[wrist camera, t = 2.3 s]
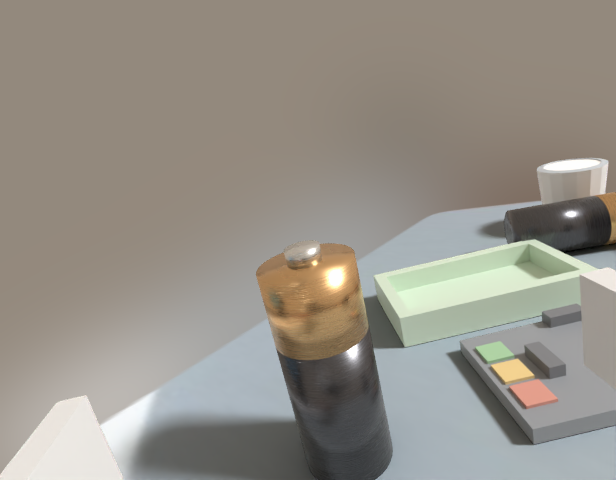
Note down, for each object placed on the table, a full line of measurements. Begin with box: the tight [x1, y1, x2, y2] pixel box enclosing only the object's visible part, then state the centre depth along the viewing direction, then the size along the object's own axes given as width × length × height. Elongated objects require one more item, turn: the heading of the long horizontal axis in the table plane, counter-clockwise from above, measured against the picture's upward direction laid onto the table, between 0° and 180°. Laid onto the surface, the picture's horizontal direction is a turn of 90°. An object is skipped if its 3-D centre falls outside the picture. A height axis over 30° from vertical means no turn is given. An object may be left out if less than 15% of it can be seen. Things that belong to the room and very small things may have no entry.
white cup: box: [537, 158, 608, 205], centre depth 48 cm, size 7×7×7 cm
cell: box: [256, 240, 393, 480], centre depth 23 cm, size 5×5×13 cm
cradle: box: [460, 303, 616, 444], centre depth 26 cm, size 12×9×2 cm
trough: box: [374, 239, 599, 347], centre depth 37 cm, size 16×9×3 cm, turn 95°
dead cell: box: [504, 192, 616, 252], centre depth 42 cm, size 13×5×5 cm, turn 85°
